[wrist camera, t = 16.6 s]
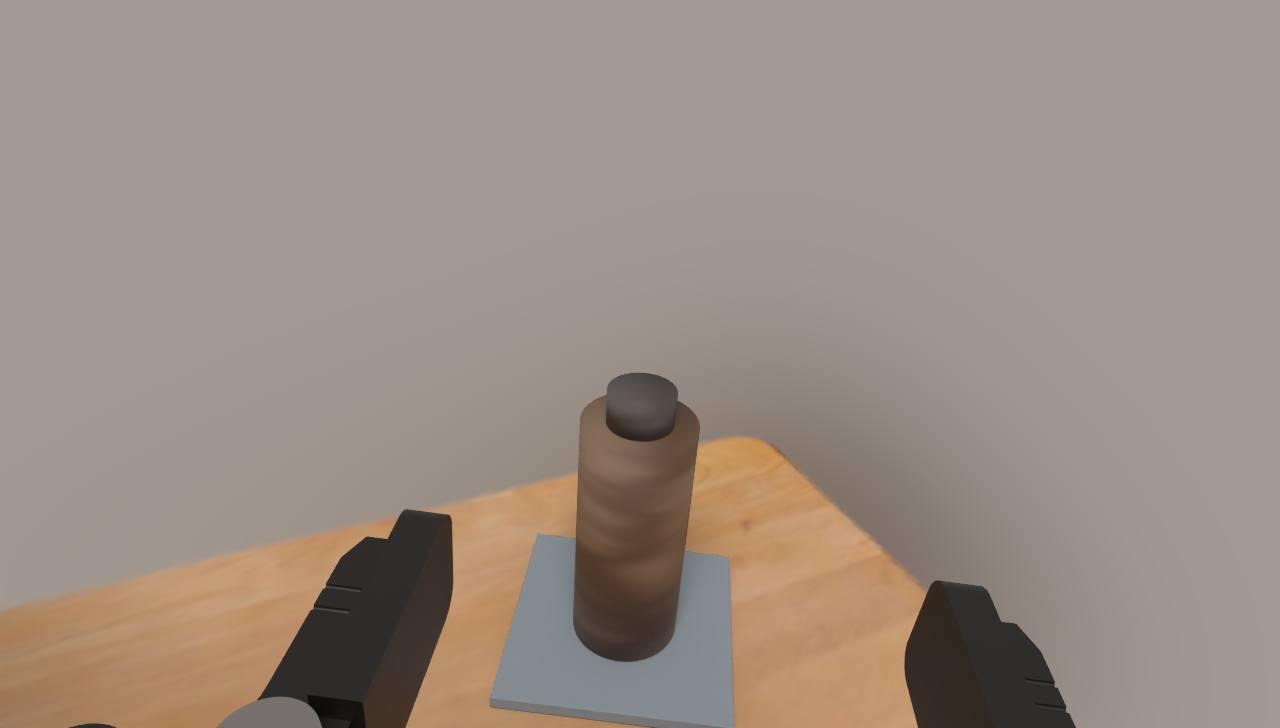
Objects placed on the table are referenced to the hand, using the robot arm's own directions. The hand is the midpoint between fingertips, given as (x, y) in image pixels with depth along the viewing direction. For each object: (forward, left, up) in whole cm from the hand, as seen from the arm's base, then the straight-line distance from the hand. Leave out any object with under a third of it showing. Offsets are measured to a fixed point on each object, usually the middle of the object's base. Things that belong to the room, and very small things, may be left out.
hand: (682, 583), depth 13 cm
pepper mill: (-1, +19, -21) cm, 28 cm away
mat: (-1, +19, -22) cm, 29 cm away
